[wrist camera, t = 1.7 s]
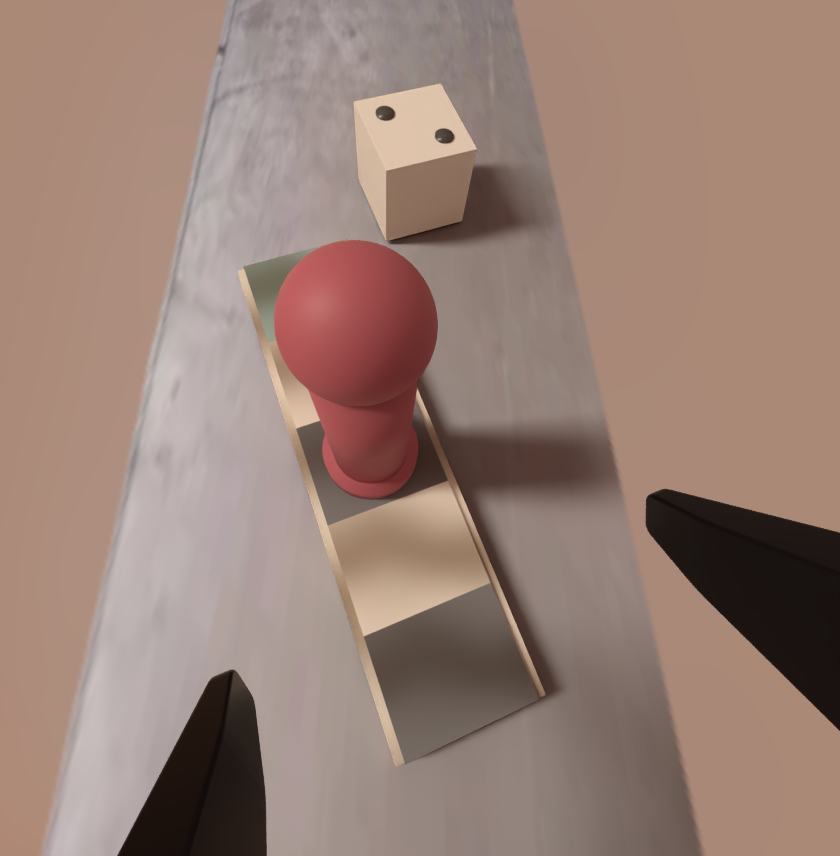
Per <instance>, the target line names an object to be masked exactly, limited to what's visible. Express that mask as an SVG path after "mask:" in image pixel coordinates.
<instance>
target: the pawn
mask: <svg viewBox="0 0 840 856" xmlns="http://www.w3.org/2000/svg"><path fill="white" fill-rule="evenodd" d="M274 329H275V337H276V341H277V345H278V348H279V351H280V353H281V356H282V358H283V360H284V362H285V363H286V365H287V367H288V368H289V370H290V372H291V373H292V374H293V375H294V376H295V378H296V379H297V380H298V381H299V382H300V383H301V384H303V385H304V386H305V387H306V388H307V389H308V391H309V393H310V396H311V399H312V401H313V404H314V406H315V409H316V411H317V414H318V417H319V419H320V422H321V424H322V427H323V429H324V432H325V436H324V439H323V445H322V453H323V459H324V463H325V466H326V468H327V470H328V472H329V474H330V476H331V478H332V480H333V481H334V482H335V484H336V485H337V486H338V487H339V488H340V489H342V490H343V491H344V492H346V493H348V494H349V495H351V496H354V497H357V498H361V499H368V500H371V499H380V498H384V497H387V496H390V495H392V494H394V493H395V492H397V491H398V490H400V489H401V488H402V487H403V486H404V485H405V484H406V483H407V482H408V480H409V479H410V478H411V476H412V474H413V472H414V469H415V466H416V461H417V457H418V439H417V435H416V432H415V430H414V428H413V426H412V419H413V412H414V406H415V399H416V393H417V386H418V379H419V377H420V376H421V375H422V373H423V372H424V371H425V369H426V367H427V365H428V364H429V362H430V360H431V357H432V354H433V352H434V349H435V345H436V340H437V330H438V320H437V312H436V307H435V302H434V299H433V297H432V294H431V291H430V289H429V287H428V285H427V283H426V282H425V280H424V278H423V277H422V276H421V274H420V273H419V272H418V270H417V269H416V268H415V267H414V266H413V265H412V264H411V263H410V262H409V261H408V260H406V259H405V258H404V257H403V256H401V255H400V254H398V253H397V252H395V251H393V250H392V249H390V248H387V247H385V246H383V245H380V244H377V243H373V242H368V241H360V240H348V241H339V242H335V243H331V244H328V245H325V246H322V247H320V248H318V249H316V250H314V251H312V252H311V253H309V254H308V255H307V256H305V257H304V258H303V259H302V260H301V261H299V262H298V263H297V264H296V265H295V266H294V267H293V269H292V270H291V271H290V273H289V274H288V275H287V277H286V279H285V281H284V283H283V284H282V286H281V288H280V291H279V294H278V297H277V301H276V306H275V311H274Z"/></svg>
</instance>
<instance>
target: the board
mask: <svg viewBox="0 0 840 856" xmlns="http://www.w3.org/2000/svg"><path fill="white" fill-rule="evenodd" d="M343 241H348V239H347V240H343ZM324 246H325V245H324ZM320 247H322V246H320ZM320 247H316V248H312V249H309V250H305V251H301V252H297V253H293V254H290V255H286V256H282V257H278V258H274V259H270V260H267V261H263V262H259V263H255V264H251V265H248V266H244V269H242V270H239V271H237V272H238V275H239V278H240V281H241V284H242V287H243V291H244V294H245V297H246V300H247V303H248V306H249V309H250V312H251V316H252V319H253V322H254V325H255V328H256V331H257V334H258V338H259V341H260V344H261V347H262V350H263V353H264V356H265V359H266V363H267V366H268V369H269V372H270V375H271V378H272V381H273V384H274V388H275V391H276V394H277V397H278V400H279V403H280V406H281V410H282V413H283V416H284V419H285V422H286V425H287V428H288V431H289V435H290V438H291V441H292V444H293V447H294V450H295V453H296V457H297V460H298V463H299V466H300V469H301V472H302V475H303V478H304V482H305V485H306V488H307V491H308V494H309V497H310V500H311V504H312V507H313V510H314V513H315V516H316V519H317V522H318V525H319V529H320V532H321V535H322V538H323V541H324V544H325V547H326V551H327V554H328V557H329V560H330V563H331V566H332V569H333V572H334V576H335V579H336V582H337V585H338V588H339V591H340V594H341V598H342V601H343V604H344V607H345V610H346V613H347V616H348V619H349V623H350V626H351V629H352V632H353V635H354V638H355V641H356V644H357V648H358V651H359V654H360V657H361V660H362V663H363V666H364V670H365V673H366V676H367V679H368V682H369V685H370V688H371V691H372V695H373V698H374V701H375V704H376V707H377V710H378V713H379V717H380V720H381V723H382V726H383V729H384V732H385V735H386V738H387V742H388V745H389V748H390V751H391V754H392V757H393V760H394V764H395V767H397V766H399V765H401V764H403V763H405V764H407V763H409V762H411V761H413V760H415V759H417V758H419V757H422V756H424V755H426V754H428V753H430V752H432V751H434V750H436V749H438V748H440V747H442V746H444V745H446V744H448V743H450V742H453V741H455V740H457V739H459V738H461V737H463V736H465V735H467V734H469V733H471V732H473V731H475V730H477V729H479V728H481V727H483V726H486V725H488V724H490V723H492V722H494V721H496V720H498V719H500V718H502V717H504V716H506V715H508V714H510V713H512V712H514V711H516V710H519V709H521V708H523V707H525V706H527V705H529V704H531V703H533V702H535V701H537V700H539V699H538V698H540V697H542V696H544V695H546V694H545V692H544V689H543V687H542V684H541V682H540V680H539V677H538V675H537V673H536V670H535V668H534V665H533V663H532V661H531V658H530V656H529V653H528V651H527V649H526V646H525V644H524V642H523V639H522V637H521V634H520V632H519V630H518V627H517V625H516V622H515V620H514V618H513V615H512V613H511V611H510V608H509V606H508V603H507V601H506V599H505V596H504V594H503V591H502V589H501V587H500V584H499V582H498V580H497V577H496V575H495V572H494V570H493V568H492V565H491V563H490V560H489V558H488V556H487V553H486V551H485V549H484V546H483V544H482V541H481V539H480V537H479V534H478V532H477V529H476V527H475V525H474V522H473V520H472V518H471V515H470V513H469V510H468V508H467V506H466V503H465V501H464V498H463V496H462V494H461V491H460V489H459V487H458V484H457V482H456V479H455V477H454V475H453V472H452V470H451V467H450V465H449V463H448V460H447V458H446V456H445V453H444V451H443V448H442V446H441V444H440V441H439V439H438V436H437V434H436V432H435V429H434V427H433V425H432V422H431V420H430V417H429V415H428V413H427V410H426V408H425V405H424V403H423V401H422V398H421V396H420V394H419V391H418V389H417V393H416V399H415V406H414V412H413V419H412V426H413V428H414V430H415V432H416V435H417V439H418V457H417V461H416V466H415V469H414V472H413V474H412V476H411V478H410V479H409V480H408V482H407V483H406V484H405V485H404V486H403V487H402V488H401V489H400V490H398V491H397V492H395V493H394V494H392V495H390V496H387V497H384V498H380V499H371V500H368V499H361V498H357V497H354V496H351V495H349V494H348V493H346V492H344V491H343V490H342V489H340V488H339V487H338V486H337V485H336V484H335V482H334V481H333V480H332V478H331V476H330V474H329V472H328V470H327V468H326V466H325V463H324V459H323V453H322V445H323V439H324V436H325V432H324V429H323V427H322V424H321V422H320V419H319V417H318V414H317V411H316V409H315V406H314V404H313V401H312V399H311V396H310V393H309V391H308V389H307V388H306V387H305V386H304V385H303V384H301V383H300V382H299V381H298V380H297V379H296V378H295V376H294V375H293V374H292V373H291V372H290V370H289V368H288V367H287V365H286V363H285V362H284V360H283V358H282V356H281V353H280V351H279V348H278V345H277V341H276V337H275V329H274V311H275V306H276V301H277V297H278V294H279V291H280V288H281V286H282V284H283V283H284V281H285V279H286V277H287V275H288V274H289V273H290V271H291V270H292V269H293V267H294V266H295V265H296V264H297V263H298V262H299V261H301V260H302V259H303V258H304V257H305V256H307V255H308V254H309V253H311V252H312V251H314V250H316V249H318V248H320Z"/></svg>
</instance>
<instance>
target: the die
mask: <svg viewBox="0 0 840 856" xmlns="http://www.w3.org/2000/svg"><path fill="white" fill-rule="evenodd" d="M354 115H355V130H356V145H357V159H358V174H359V181H360V184H361V186H362V188H363V190H364V193H365V195H366V197H367V199H368V202H369V204H370V206H371V208H372V211H373V213H374V215H375V217H376V220H377V222H378V224H379V227H380V229H381V231H382V233H383V236H384V238H385V240H386V241H389V240H393V239H397V238H401V237H404V236H408V235H412V234H416V233H419V232H423V231H427V230H430V229H434V228H438V227H442V226H445V225H449V224H453V223H457V222H460V221H462V219H463V214H464V209H465V205H466V200H467V195H468V190H469V185H470V180H471V175H472V170H473V166H474V161H475V156H476V151H477V148H476V147H475V145H474V143H473V141H472V139H471V138H470V136H469V134H468V132H467V130H466V129H465V127H464V125H463V123H462V121H461V120H460V118H459V116H458V114H457V112H456V111H455V109H454V107H453V105H452V103H451V102H450V100H449V98H448V96H447V94H446V93H445V91H444V89H443V87H442V85H441V84H437V85H432V86H427V87H422V88H417V89H413V90H408V91H403V92H398V93H393V94H388V95H384V96H379V97H374V98H369V99H364V100H360V101H355V102H354Z"/></svg>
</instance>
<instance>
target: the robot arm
mask: <svg viewBox="0 0 840 856" xmlns="http://www.w3.org/2000/svg"><path fill="white" fill-rule="evenodd" d="M646 527H647V529H648V531H649V533H650V535H651V536H652V537H653V538H654V539H655V541H656V542H657V543H658V544H659V545H660V547H661V548H662V549H663V550H664V551H665V553H666V554H667V555H668V556H669V557H670V559H671V560H672V561H673V562H674V563H675V565H676V566H677V567H678V568H679V569H680V570H681V572H682V573H683V574H684V575H685V576H686V578H687V579H688V580H689V581H690V582H691V583H692V585H693V586H694V587H695V588H696V589H697V590H698V591H699V592H700V593H701V594H702V595H703V596H704V597H705V598H706V599H707V600H708V601H709V602H710V603H711V604H712V605H713V606H714V607H715V608H716V609H717V610H718V611H719V612H720V613H721V614H722V615H723V616H724V617H725V618H726V619H727V620H728V621H729V622H730V623H731V624H732V625H733V626H734V627H735V628H736V629H737V630H738V631H739V632H740V633H741V634H742V635H743V636H744V637H745V638H746V639H747V640H748V641H749V642H750V643H751V644H752V645H753V646H755V648H756V649H757V650H758V651H759V652H760V653H761V654H762V655H763V656H765V658H766V659H767V660H769V661H770V662H771V663H772V665H774V666H775V667H776V668H777V669H778V670H779V671H780V672H781V673H782V674H783V675H784V676H785V677H786V678H787V679H788V680H789V681H790V682H791V683H792V684H793V685H794V686H795V687H796V688H797V689H798V690H799V691H800V692H801V693H802V694H803V695H804V696H805V697H806V698H807V699H808V700H809V701H810V702H811V703H812V704H813V705H814V706H815V707H816V708H817V709H818V710H819V711H820V712H821V713H822V714H823V715H825V717H826V718H827V719H828V720H829V721H830V722H831V723H832V724H833V725H834V726H835V727H836V728H837V729H838V730H839V731H840V533H839V532H835V531H831V530H827V529H824V528H820V527H815V526H812V525H807V524H804V523H800V522H796V521H792V520H788V519H784V518H780V517H776V516H772V515H768V514H764V513H760V512H756V511H752V510H748V509H744V508H740V507H736V506H732V505H729V504H724V503H720V502H717V501H713V500H709V499H705V498H701V497H697V496H693V495H689V494H685V493H681V492H677V491H673V490H669V489H662V490H659V491H657V492H654V493H652V494H650V495H648V497H647V499H646ZM117 856H267V843H266V796H265V785H264V776H263V767H262V759H261V751H260V743H259V734H258V726H257V718H256V709H255V704H254V700H253V697H252V695H251V693H250V691H249V690H248V688H247V687H246V685H245V683H244V682H243V680H242V679H241V677H240V676H239V674H238V673H237V672H236V671H235V670H229V671H226V672H224V673H221V674H219V675H217V676H214V677H213V678H212V679H211V680H210V681H209V682H208V684H207V686H206V688H205V690H204V692H203V694H202V695H201V697H200V699H199V701H198V703H197V705H196V707H195V709H194V711H193V713H192V714H191V716H190V718H189V720H188V722H187V724H186V726H185V728H184V730H183V732H182V734H181V735H180V737H179V739H178V741H177V743H176V745H175V747H174V749H173V751H172V753H171V754H170V756H169V758H168V760H167V762H166V764H165V766H164V768H163V770H162V772H161V773H160V775H159V777H158V779H157V781H156V783H155V785H154V787H153V789H152V791H151V792H150V794H149V796H148V798H147V800H146V802H145V804H144V806H143V808H142V810H141V812H140V813H139V815H138V817H137V819H136V821H135V823H134V825H133V827H132V829H131V831H130V832H129V834H128V836H127V838H126V840H125V842H124V844H123V846H122V848H121V850H120V851H119V853H118V855H117Z"/></svg>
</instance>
